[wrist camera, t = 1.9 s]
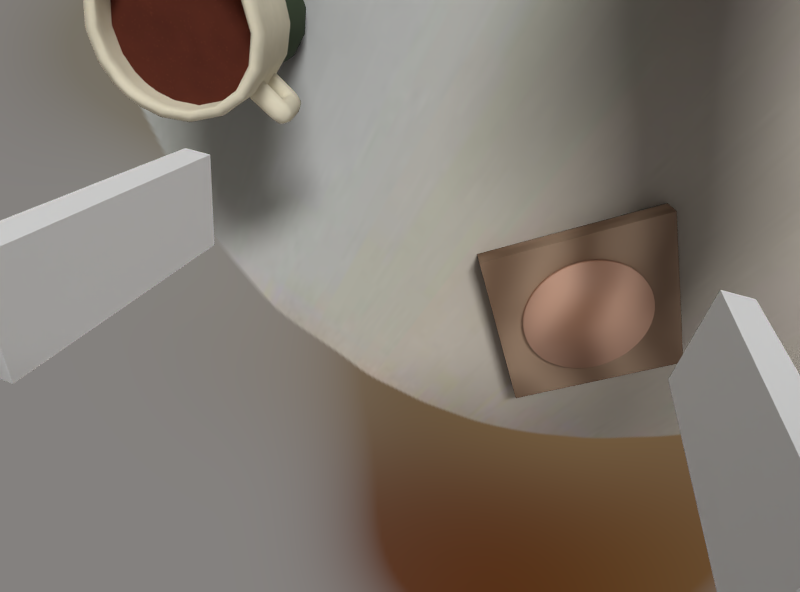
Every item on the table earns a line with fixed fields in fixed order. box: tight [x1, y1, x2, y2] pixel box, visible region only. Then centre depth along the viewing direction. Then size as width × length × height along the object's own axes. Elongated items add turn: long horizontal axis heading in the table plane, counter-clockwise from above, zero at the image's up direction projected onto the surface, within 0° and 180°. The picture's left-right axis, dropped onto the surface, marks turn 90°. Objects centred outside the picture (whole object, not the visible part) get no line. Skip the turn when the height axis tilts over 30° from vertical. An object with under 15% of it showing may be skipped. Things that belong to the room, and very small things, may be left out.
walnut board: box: [477, 203, 683, 398], centre depth 41 cm, size 14×14×2 cm
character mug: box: [83, 0, 306, 124], centre depth 26 cm, size 11×7×13 cm, turn 43°
